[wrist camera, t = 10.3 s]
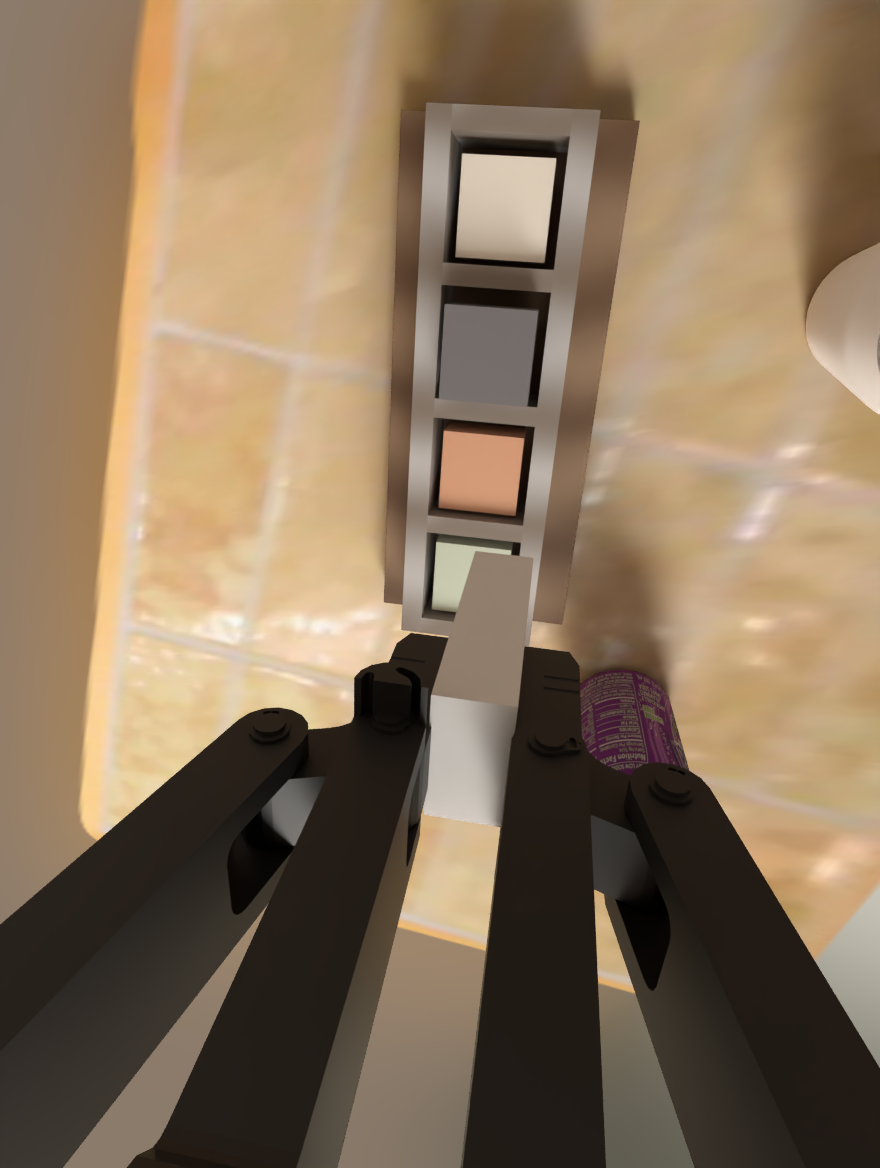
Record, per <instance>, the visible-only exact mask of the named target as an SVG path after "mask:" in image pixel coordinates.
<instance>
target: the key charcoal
mask: <svg viewBox="0 0 880 1168" xmlns="http://www.w3.org/2000/svg"><path fill="white" fill-rule="evenodd" d="M538 315H539V309H533V308H520V307H506V306H493V305H480V304H466V303H448V304H445V307H444V323H443V339H442V355H441V371H440V387H439V399H444V400H455V401H466V402H477V403H488V404H499V405H510V406H521V407H527V405H528V400H529V393H530V385H531V376H532V367H533V358H534V350H535V341H536V332H537V324H538Z"/></svg>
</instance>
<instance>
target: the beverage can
mask: <svg viewBox="0 0 880 1168" xmlns="http://www.w3.org/2000/svg"><path fill="white" fill-rule="evenodd" d="M580 697H581V724H582V738H583V739H584V740H585V743H586V746H587V749H588V751H589V752H590V753H591V754H592V755H593V756H594V757H595V758H596V759H597V760H599V761H600V762H602V763H603V764H605V765H607V766H609V767H611V768H613V769H615V770H618V771H621V772H623V773H626V774H629V775H632V773H633V771H634V770H635V769H636V768H638V767H640V766H641V765H643V764H648V763H654V762H660V763H668V764H673V765H676V766H679V767H682V768H684V769H687V770H689V768H688V764H687V761H686V757H685V754H684V750H683V746H682V743H681V739H680V736H679V732H678V729H677V725H676V721H675V718H674V714H673V711H672V707H671V704H670V700H669V698H668V696H667V694H666V692H665V691H664V689H663V688H662V687H661V686H660V685H659V684H658V683H657V682H656V681H655V680H653V679H652V678H650V677H648V676H646V675H644V674H642V673H639V672H635V671H631V670H609V671H604V672H601V673H598V674H596V675H594V676H592V677H590V678H588V679H587V680H585V681H584V682H583V683H582V684H581V685H580Z"/></svg>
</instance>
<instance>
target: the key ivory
mask: <svg viewBox="0 0 880 1168" xmlns="http://www.w3.org/2000/svg"><path fill="white" fill-rule="evenodd" d="M555 173H556V158H540V157H520V156H501V155H481V154H462V165H461V180H460V195H459V210H458V225H457V240H456V255H455V257H457V258H461V259H470V260H484V261H499V262H514V263H529V264H544V265H545V260H546V251H547V243H548V234H549V225H550V217H551V208H552V199H553V191H554V182H555Z"/></svg>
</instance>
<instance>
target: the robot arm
mask: <svg viewBox="0 0 880 1168" xmlns="http://www.w3.org/2000/svg"><path fill="white" fill-rule="evenodd" d="M533 559H534V558H532V557H523V556H514V555H506V554H497V553H488V552H480V551H475V554H474V557H473V560H472V563H471V567H470V570H469V573H468V576H467V580H466V583H465V586H464V589H463V593H462V596H461V599H460V602H459V606H458V609H457V612H456V615H455V619H454V622H453V625H452V628H451V632H450V635H449V638H445V637H437V636H430V635H422V634H414V633H410V634H409V635H408V636H406V637H405V638H404V639H402V640H401V641H400V642H398V643H397V645H396V647H395V649H394V651H393V654H392V656H391V659H390V661H389V663H380V664H375V665H371V666H369V667H367V668H365V669H363V670H361V671H360V672H359V673H358V674H357V675H356V676H355V677H354V718H353V720H352V722H351V723H349V724H346V725H343V726H339V727H333V728H323V729H309V730H308V723H307V721H306V720H305V719H304V717H303V716H302V715H300V714H298V713H297V712H295V711H293V710H289V709H283V708H265V709H261V710H258V711H254V712H251V713H249V714H247V715H246V716H244V717H242V718H241V719H239V720H238V721H237V722H235V723H234V724H233V725H232V726H231V727H230V728H229V729H227V730H226V731H225V732H224V733H223V734H222V735H220V736H219V737H218V738H217V739H216V740H215V741H213V742H212V743H211V744H210V745H209V746H208V747H206V748H205V749H204V750H203V751H202V752H201V753H199V754H198V755H197V756H196V757H195V758H194V759H192V760H191V761H190V762H189V763H188V764H187V765H185V766H184V767H183V768H182V769H181V770H180V771H178V772H177V773H176V774H175V775H174V776H173V777H171V778H170V779H169V780H168V781H167V782H166V783H165V784H163V785H162V786H161V787H160V788H159V789H158V790H156V791H155V792H154V793H153V794H152V795H151V796H149V797H148V798H147V799H146V800H145V801H144V802H142V803H141V804H140V805H139V806H138V807H137V808H135V809H134V810H133V811H132V812H131V813H130V814H128V815H127V816H126V817H125V818H124V819H123V820H121V821H120V822H119V823H118V824H117V825H116V826H114V827H113V828H112V829H111V830H110V831H109V832H107V833H106V834H105V835H104V836H103V837H102V838H101V839H99V840H98V841H97V842H96V843H95V844H94V845H93V846H91V847H90V848H89V849H88V850H87V851H85V852H84V853H83V854H82V855H81V856H80V857H78V858H77V859H76V860H75V861H74V862H73V863H71V864H70V865H69V866H68V867H67V868H66V869H64V870H63V871H62V872H61V873H60V874H59V875H57V876H56V877H55V878H54V879H53V880H52V881H51V882H49V883H48V884H47V885H46V886H45V887H43V888H42V889H41V890H40V891H39V892H38V893H37V894H35V895H34V896H33V897H32V898H31V899H30V900H28V901H27V902H26V903H25V904H24V905H23V906H21V907H20V908H19V909H18V910H17V911H16V912H14V913H13V914H12V915H11V916H10V917H9V918H7V919H6V920H5V921H4V922H3V923H2V924H0V1168H63V1167H64V1165H65V1164H66V1163H67V1162H68V1160H69V1159H70V1158H71V1156H72V1155H73V1154H74V1153H75V1151H76V1150H77V1149H78V1148H79V1146H80V1145H81V1144H82V1142H83V1141H84V1140H85V1139H86V1137H87V1136H88V1135H89V1133H90V1132H91V1131H92V1130H93V1128H94V1127H95V1126H96V1124H97V1123H98V1122H99V1121H100V1119H101V1118H102V1117H103V1115H104V1114H105V1113H106V1112H107V1110H108V1109H109V1108H110V1106H111V1105H112V1104H113V1103H114V1101H115V1100H116V1099H117V1097H118V1096H119V1095H120V1094H121V1092H122V1091H123V1090H124V1088H125V1087H126V1086H127V1084H128V1083H129V1082H130V1081H131V1079H132V1078H133V1077H134V1075H135V1074H136V1073H137V1072H138V1070H139V1069H140V1068H141V1066H142V1065H143V1064H144V1063H145V1061H146V1060H147V1059H148V1057H149V1056H150V1055H151V1054H152V1052H153V1051H154V1050H155V1048H156V1047H157V1046H158V1045H159V1043H160V1042H161V1040H162V1039H163V1038H164V1037H165V1036H166V1034H167V1033H168V1032H169V1030H170V1029H171V1028H172V1027H173V1025H174V1024H175V1023H176V1021H177V1020H178V1019H179V1018H180V1016H181V1015H182V1014H183V1012H184V1011H185V1010H186V1009H187V1007H188V1006H189V1005H190V1003H191V1002H192V1001H193V1000H194V998H195V997H196V996H197V995H198V993H199V992H200V991H201V989H202V988H203V987H204V985H205V984H206V983H207V982H208V980H209V979H210V978H211V976H212V975H213V974H214V973H215V971H216V970H217V969H218V967H219V966H220V965H221V964H222V962H223V961H224V960H225V958H226V957H227V956H228V955H229V953H230V952H231V951H232V949H233V948H234V947H235V945H236V944H237V943H238V942H239V940H240V939H241V938H242V937H243V935H244V934H245V933H246V931H247V930H248V929H249V928H250V926H251V925H252V924H253V922H254V921H255V920H256V919H257V917H258V916H259V915H260V913H261V912H262V911H263V910H264V908H265V907H266V906H267V904H268V903H269V904H268V906H267V908H266V910H265V912H264V914H263V917H262V919H261V921H260V923H259V925H258V928H257V930H256V932H255V934H254V936H253V939H252V941H251V943H250V945H249V947H248V949H247V952H246V954H245V956H244V958H243V961H242V963H241V965H240V967H239V969H238V971H237V974H236V976H235V978H234V980H233V982H232V984H231V987H230V989H229V991H228V993H227V995H226V998H225V1000H224V1002H223V1004H222V1006H221V1009H220V1011H219V1013H218V1015H217V1017H216V1020H215V1022H214V1024H213V1026H212V1028H211V1030H210V1033H209V1035H208V1037H207V1039H206V1041H205V1043H204V1046H203V1048H202V1050H201V1052H200V1054H199V1057H198V1059H197V1061H196V1063H195V1065H194V1068H193V1070H192V1072H191V1074H190V1076H189V1079H188V1081H187V1083H186V1085H185V1087H184V1089H183V1092H182V1094H181V1096H180V1098H179V1101H178V1103H177V1105H176V1107H175V1109H174V1111H173V1113H172V1116H171V1118H170V1120H169V1122H168V1124H167V1126H166V1128H165V1130H164V1132H163V1134H162V1136H161V1138H160V1139H159V1140H158V1142H157V1143H156V1144H155V1145H154V1147H153V1148H151V1149H149V1150H147V1151H145V1152H143V1153H141V1154H139V1155H137V1156H136V1157H135V1158H134V1159H133V1161H132V1162H131V1163H130V1164H129V1166H128V1167H127V1168H337V1167H338V1162H339V1159H340V1155H341V1150H342V1147H343V1142H344V1139H345V1135H346V1130H347V1126H348V1122H349V1118H350V1114H351V1110H352V1106H353V1102H354V1098H355V1094H356V1090H357V1086H358V1082H359V1078H360V1074H361V1070H362V1066H363V1062H364V1058H365V1054H366V1050H367V1046H368V1042H369V1038H370V1034H371V1029H372V1026H373V1021H374V1017H375V1014H376V1010H377V1005H378V1001H379V997H380V994H381V990H382V985H383V981H384V977H385V973H386V969H387V965H388V961H389V957H390V953H391V949H392V945H393V941H394V937H395V933H396V929H397V925H398V921H399V917H400V913H401V909H402V905H403V901H404V897H405V893H406V889H407V885H408V881H409V877H410V873H411V869H412V865H413V861H414V857H415V853H416V849H417V845H418V840H419V836H420V821H421V813H422V809H423V805H424V815H430V816H436V817H442V818H448V819H454V820H460V821H466V822H472V823H478V824H484V825H491V826H497V827H501V829H500V837H499V845H498V853H497V861H496V868H495V876H494V887H493V896H492V904H491V913H490V921H489V930H488V938H487V947H486V955H485V964H484V973H483V981H482V990H481V998H480V1007H479V1015H478V1024H477V1032H476V1041H475V1050H474V1058H473V1067H472V1075H471V1084H470V1092H469V1101H468V1109H467V1118H466V1126H465V1135H464V1143H463V1153H462V1161H461V1168H606V1159H605V1136H604V1113H603V1089H602V1068H601V1067H602V1066H601V1044H600V1020H599V998H598V974H597V951H596V927H595V904H594V889H595V890H597V891H599V892H601V893H603V894H604V897H605V905H606V908H607V911H608V914H609V917H610V920H611V923H612V926H613V928H614V931H615V934H616V937H617V940H618V943H619V946H620V949H621V952H622V955H623V958H624V961H625V964H626V967H627V970H628V973H629V976H630V979H631V982H632V984H633V987H634V990H635V993H636V996H637V999H638V1002H639V1005H640V1008H641V1011H642V1014H643V1016H644V1020H645V1023H646V1026H647V1029H648V1032H649V1034H650V1037H651V1040H652V1043H653V1046H654V1049H655V1052H656V1055H657V1058H658V1061H659V1064H660V1067H661V1070H662V1073H663V1076H664V1079H665V1081H666V1085H667V1088H668V1091H669V1093H670V1096H671V1099H672V1102H673V1105H674V1108H675V1111H676V1114H677V1117H678V1120H679V1123H680V1126H681V1129H682V1131H683V1135H684V1138H685V1141H686V1144H687V1146H688V1149H689V1152H690V1155H691V1158H692V1161H693V1164H694V1167H695V1168H880V1068H879V1066H878V1065H877V1063H876V1061H875V1060H874V1058H873V1056H872V1055H871V1053H870V1051H869V1050H868V1048H867V1046H866V1045H865V1043H864V1041H863V1040H862V1038H861V1036H860V1035H859V1033H858V1031H857V1030H856V1028H855V1027H854V1025H853V1023H852V1022H851V1020H850V1018H849V1017H848V1015H847V1013H846V1012H845V1010H844V1008H843V1007H842V1005H841V1004H840V1002H839V1000H838V999H837V997H836V995H835V994H834V992H833V990H832V989H831V987H830V985H829V984H828V982H827V980H826V979H825V977H824V975H823V974H822V972H821V971H820V969H819V967H818V966H817V964H816V962H815V961H814V959H813V957H812V956H811V954H810V952H809V951H808V949H807V947H806V946H805V944H804V943H803V941H802V939H801V938H800V936H799V934H798V933H797V931H796V929H795V928H794V926H793V924H792V923H791V921H790V919H789V918H788V916H787V914H786V913H785V911H784V910H783V908H782V906H781V905H780V903H779V901H778V900H777V898H776V896H775V895H774V893H773V891H772V890H771V888H770V886H769V885H768V883H767V882H766V880H765V878H764V877H763V875H762V873H761V872H760V870H759V868H758V867H757V865H756V863H755V862H754V860H753V858H752V857H751V855H750V854H749V852H748V850H747V849H746V847H745V845H744V844H743V842H742V840H741V839H740V837H739V835H738V834H737V832H736V830H735V829H734V827H733V825H732V824H731V822H730V821H729V819H728V817H727V816H726V814H725V812H724V811H723V809H722V807H721V806H720V804H719V802H718V801H717V799H716V797H715V796H714V794H713V793H712V791H711V789H710V788H709V787H708V786H707V785H706V784H705V782H704V781H703V780H702V779H701V778H700V777H698V776H697V775H695V774H693V773H692V772H690V771H689V770H687V769H684V768H682V767H679V766H676V765H673V764H668V763H660V762H654V763H648V764H643V765H641V766H640V767H638V768H636V769H635V770H634V771H633V773H632V775H629V774H626V773H623V772H621V771H618V770H615V769H613V768H611V767H609V766H607V765H605V764H603V763H602V762H600V761H599V760H597V759H596V758H595V757H594V756H593V755H592V754H591V753H590V752H589V751H588V749H587V746H586V743H585V740H584V739H583V738H582V724H581V697H580V669H579V665H578V663H577V662H576V661H575V659H574V658H573V657H572V655H571V654H570V652H564V651H556V650H549V649H541V648H534V647H526V646H525V636H526V626H527V617H528V607H529V598H530V588H531V578H532V569H533ZM424 801H425V803H424Z"/></svg>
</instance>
